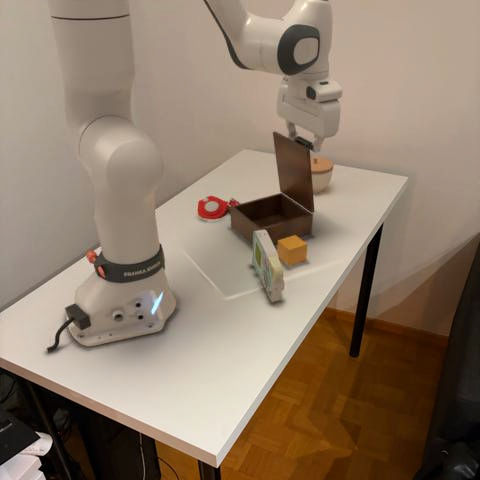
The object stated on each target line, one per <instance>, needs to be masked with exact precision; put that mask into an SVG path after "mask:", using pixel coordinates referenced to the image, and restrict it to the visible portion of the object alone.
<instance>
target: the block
mask: <svg viewBox="0 0 480 480" xmlns="http://www.w3.org/2000/svg"><path fill="white" fill-rule="evenodd" d="M276 247H277V248H276V251H277V253H278V256H279V260H280V261H282V262H283V263H285V264H286V265H287V266H291V265H295V264H298V263H301V262H303V261H307V254H308V243H307V242H305V241H304V240H303V239H302V238H299V237H297V236H296V235H293V236H290V237H287V238H284V239H281V240H278V245H276Z"/></svg>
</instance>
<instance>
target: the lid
mask: <svg viewBox="0 0 480 480" xmlns="http://www.w3.org/2000/svg"><path fill="white" fill-rule="evenodd" d="M272 137H273V147H274V153H275V161H276V169H277V178H278V184H279V191H280V192H279V193H282V194H284V195H285V196H287V197H288V198H290V199H291V200H293V201H294V202H296V203H297V204H299V205H300V206H301V207H303V208H304V209H306V210H307V211H309V212H310V213H312V214H313V213H315V200H314V199H315V198H314V193H313V185H312V172H311V159H310V157H311V144H313V143H314V142H312V141H311V140H309V139H307V138H305V137H302V136H300V135H298V136H297V137H296V139H295V140H294V141H293V140H291V139H289V138H288V136H286V135H283V134H282V133H280V132H278V131H276V130H274V131H273V132H272Z"/></svg>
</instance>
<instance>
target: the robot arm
mask: <svg viewBox="0 0 480 480" xmlns="http://www.w3.org/2000/svg"><path fill="white" fill-rule="evenodd" d="M203 2H204V4H205V6H206V8H207V9H208V11H209V13H210V14H211V16H212V18H213V19H214V21H215V23H216V25H217V27H218V29H219V30H220V32H221V33H222V35H223V37H224V40H225V43H226V47H227V50H228V53H229V56H230V58H231V60H232V62H233V64H235V66H236V67H238V68H239V69H241V70H249V71H257V72H258V71H259V72H264V73H267V74H273V75H278V76H282V79H281V81H280V86H279V88H278V91H277V99H276V114H277V116H278V117H279V118H281V119H283V120H285V126H286V129H287V132H288V136H287V138H289V139H291V140H293V141H294V140H295V139H296V137H298V136H299V132H298V131H297V129H296V126H297V127H299V128H301V129H303V130H306V131H307V132H310V133H312V134H313V139H315V140H314V142H312V143H313V144H311V150H310V152H312V153H314V154H317V153H320V152H321V150H322V144H323V142H324V141H325V139H328V138H332V137H335V136H336V135H337V134H338V132H339V128H340V122H341V102H340V100H339V99H341V98H342V97H343V88H342V86H341V85H340V84H339V83H338V82H337V81H336V80H335V79H334V77H332V75H331V74H330V63H329V55H330V51H331V48H332V41H333V40H332V39H333V8H332V4H331V2H330V1H329V0H294V1H293V3H292V5H293V6H292V7H291V9H290V10H289V11H287V13H286V14H285V15H283V16H281V17H280V18H279V19H276V18H269V17H262V16H259V15H256V14H253V13H251V12H250V11H248V10H247V9H246V7H245V4H244V3H243V1H242V0H203ZM47 4H48V9H49V10H48V11H49V16H50V20H51V24H52V25H51V26H52V31H53V35H54V40H55V45H56V50H57V54H58V60H59V64H60V69H61V76H62V83H63V97H64V98H63V99H64V110H65V111H64V112H65V122H66V137H67V142H68V145H69V147H70V150H71V153H72V154H73V156H74V157H75V159H76V160H77V161H78V162H79V163H80V164H81V166H82V167H83V168H84V169H85V170H86V172H87V173H88V175H89V179H90V180H91V183H92V186H93V191H94V202H95V203H94V204H95V211H94V213H93V220H94V224H95V228H96V233H97V236H98V241H99V245H100V251H99V254H98V253H97V252H96V251H94V250H89V251H88V252H87V254H85V257H86V259H87V260H88V262H89V263H90V264H91V265H93V268H94V271H93V272H92V273H91V274H90V275H89V276H88V277H87V278H86V279H85V280H84V281H83V282H82V283H81V284H80V285H78V287H77V288H76V290H75V292H74V303H72V304H70V305H68V306H65V307H64V310H65V313H66V321H65V322H64V323H63V324H62V325H60V327H59V328H58V330H57V331H56V333H55V337H54V342H53V343H54V344H53V345H52V346H51V345H50V346H48V347H46V350H47V352H51V351H54V350H56V349H57V348H58V346H59V345H60V338H61V335H62V333H63V331H65V329H66V328H68V330H69V332H70V334H71V336H72V338H73V339H75V341H76V342H77V343H79V345H82V346H85V347H87V348H88V347H95V346H99V345H103V344H108V343H113V342H117V341H122V340H126V339H131V338H136V337H141V336H145V335H150V334H154V333H158V332H160V331H162V330H163V328H164V327H165V324H166V321H167V320H168V319H169V318H170V316H171V315H172V314H173V313H174V311H175V309H176V308H177V307H176V306H177V300H176V297H175V296H174V294H173V291H172V290H171V286H170V284H169V281H168V278H167V274H166V258H165V252H164V248H163V245H162V243H161V242H160V238H159V230H158V229H159V228H158V223H157V215H156V199H157V189H158V188H159V186H160V185H161V183H162V181H163V178H164V173H165V165H164V159H163V157H162V154H161V152H160V151H159V149H158V147H157V145H156V144H155V142H154V141H153V139H152V138H151V137H150V136H149V135H148V134H147V133H146V132H145V131H144V130H142V129H141V128H140V127H138V126H137V125H135V122H134V120H133V117H132V109H131V108H132V93H133V84H134V81H135V79H136V77H137V63H136V54H135V47H134V37H133V28H132V21H131V20H132V19H131V14H130V13H131V12H130V4H129V0H47ZM283 76H284V77H283Z"/></svg>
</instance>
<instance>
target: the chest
mask: <svg viewBox="0 0 480 480" xmlns="http://www.w3.org/2000/svg"><path fill="white" fill-rule="evenodd" d="M229 210H230V226H231V227H232V228H233V229H234V230H235V231H237V233H239V235H241V236H242V237H243V238H244V239H245V240H246V241H247V242H249V243H250V244H251V245H252V246H253V233H254V231H258V230H266V231H267V233H268V235H269V237H270V239H271V241H272V243H273V245H274V247H275V246H276V247H277V246H278V240H281V239H284V238H287V237H290V236H293V235H296V236H297V237H299V238H300V239H302V238H304V237H307V236H310V235H312V233H313V222H314V214H313V213H311V212H310V211H308V210H307V209H305V208H304V207H302V206H301V205H299V204H298V203H296V202H295V201H293V200H292V199H291V198H289V197H288V196H286V195H285V194H283V193H282V192H279V193H275V194H272V195H268V196H264V197H259V198H257V199H252V200H249V201H246V202H241V204H238V205H234V206H230V209H229Z"/></svg>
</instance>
